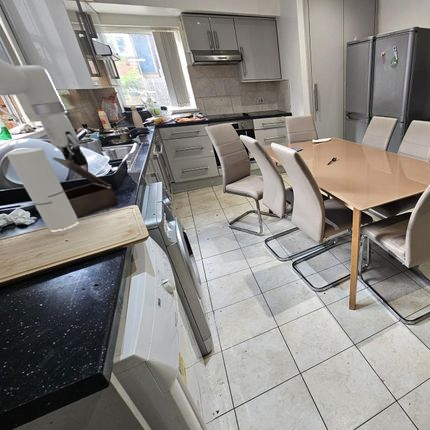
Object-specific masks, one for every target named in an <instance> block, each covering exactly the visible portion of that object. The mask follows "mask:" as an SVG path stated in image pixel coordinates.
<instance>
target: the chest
mask: <svg viewBox="0 0 430 430" xmlns="http://www.w3.org/2000/svg"><path fill="white" fill-rule="evenodd" d="M64 192H65V194H66V196H67V198H68V200H69V202H70V204H71V206H72V208H73V210H74V212H75V214H76V216H77V218H78V219H80V218H83V217H86V216H89V215H91V214H94V213H97V212H100V211H103V210H105V209H108V208H111V207H113V206H116V205H119V202H118V199H117V197H116V195H115V192H114V189H113V188H112V186H111V187H107V186H104V185H100V184H96V183H93V182H91V183H88V184H85V185H82V186H78V187H74V188H71V189H67V190H64Z"/></svg>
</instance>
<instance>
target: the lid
mask: <svg viewBox="0 0 430 430" xmlns="http://www.w3.org/2000/svg"><path fill="white" fill-rule="evenodd" d="M70 155H71V153H69V157H68V158H67V159H65V158H60V157H54V156H53V158H52V160H53V161H55V162H57V163H59V164H60V165H62V166H63V167H65V168H67V169H69V170H70V171H72V172H74V173H76V174H78V175H80V176H81V177H83V178H84V179H86V180H88V181H89V182H91V183H96V184H100V185H103V186H107V187H111V188H112V184H110V183H108V182H106V181H105V180H103V179H101V178H100V177H98V176H96V175H95V174H93V173H91V172H90V171H89V170H87V169H85V168H83V166H78V165H77V164H75V163H74V162H73V160H72V161H70V160H71V159H72V158H71V156H70Z"/></svg>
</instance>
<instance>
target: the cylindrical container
mask: <svg viewBox="0 0 430 430" xmlns="http://www.w3.org/2000/svg"><path fill="white" fill-rule="evenodd" d="M5 155H6V157H7V159H8V161H9V162H10V164H11V166H12V168H13V170H14V172H15V173H16V175H17V176H18V178H19V181H20V182H21V183H22V186H23V187H24V189H25V190H26V193H27V194H28V196H29V198H30V200H31V201H32V203H33V205H34V206H35V208H36V210H37V211H38V213H39V215H40V217H41V219H42V220H43V222H44V224H45V226H46V228H47V230H48V231H49V230H58V229H64V228H67V227H69V226H71V225H73V224H75V223H76V222H77V220H79V218H77V216H76V214H75V212H74V210H73V208H72V206H71V204H70V202H69V200H68V198H67V196H66V194H65V192H64V191H65V190H64V188H63V186H62V185H61V182H60V180H59V179H58V177H57V174H56V172H55V170H54V168H53V167H52V165H51V163H50V160H49V158H48V156H47V155H46V152H45V151H44V149H43V148H42V147H33V148H25V149H18V150H13V151H9V152H6V153H5ZM81 226H82V225H81V222H80V221H79V224H77V225H76V226H74V227H72V228H69V229H66V230H63V231H57V232H51V231H49V233H50V235H52V236H57V235H63V234H67V233H71V232H73V231H75V230H77V229H79V228H80V227H81Z"/></svg>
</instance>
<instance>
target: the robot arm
mask: <svg viewBox="0 0 430 430" xmlns="http://www.w3.org/2000/svg"><path fill="white" fill-rule="evenodd" d="M22 94H24V96H25V98H26V99H27V101H28V104H29V105H30V107H31V109H32V111H33V112H34V114H35V116H36V117H38V118H39V121H40V124H41V126H42V128H43V131H44V132H45V134H46V136H47V138H48V140H49V142H50V144H51V145H52V146H55V147H58V148H59V150H60V152H61V154H62V156H63V158H64V160H66V159H67V158H68V157H69V153H71V155H70V156H71V158H72V159H71V160H70V161H72V160H73V162H74V163H75V164H77V165H78V166H80V167H83V166H87V165H88V162H87V160H86V158H85V156H84V154H83V151H82V149H81V145H80V140H79V136H78V135H77V132H76V131H75V129H74V127H73V126H72V125H73V124H72V123H71V122H70V120H69V118H68V116H67V115H66V114H67V113H68V111H67V110H66V108H65V106H64V104H63V101H62V99H61V97H60V96H59V93H58V91H57V90H56V87H55V85H54V83H53V81H52V78H51V77H50V74H49V73H48V70H47V69H46V68H45V67H44V66H42V65H37V64H25V65H24V64H23V65H22V64H21V65H13V64H11V63H9V62H7V61H6V60H3V59H0V96H15V95H16V96H17V95H22Z"/></svg>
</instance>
